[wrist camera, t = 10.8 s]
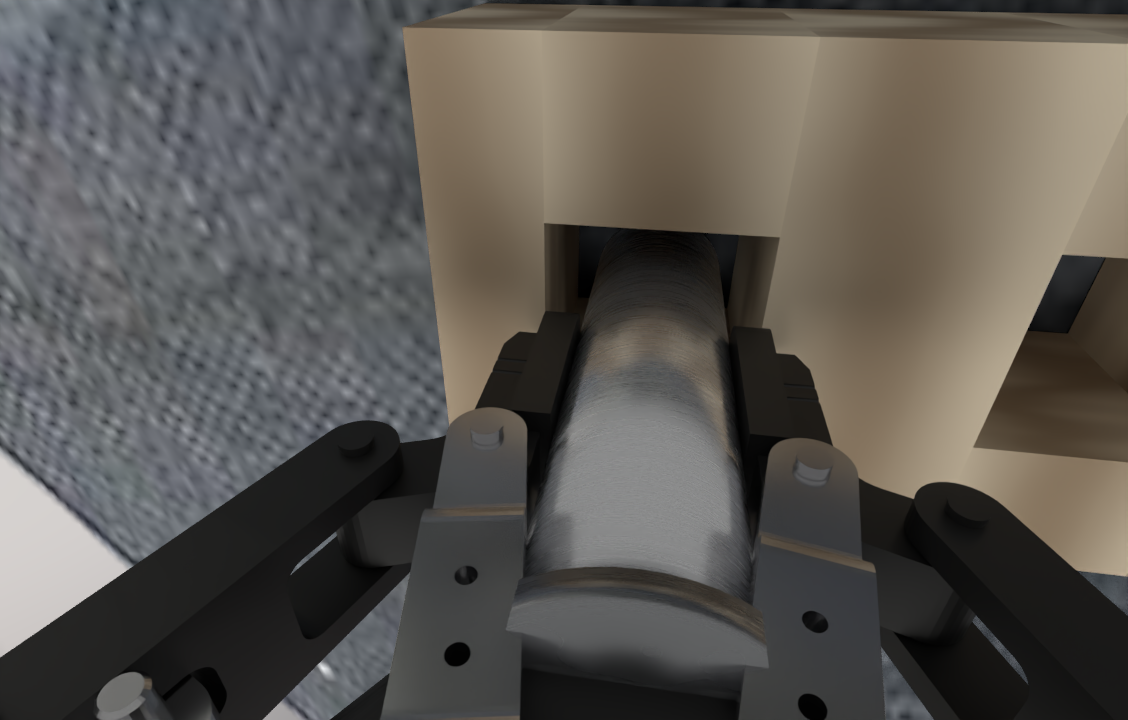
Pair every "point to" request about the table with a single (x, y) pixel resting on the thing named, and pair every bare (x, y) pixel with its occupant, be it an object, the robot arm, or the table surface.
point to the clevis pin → (645, 487)
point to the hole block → (816, 216)
